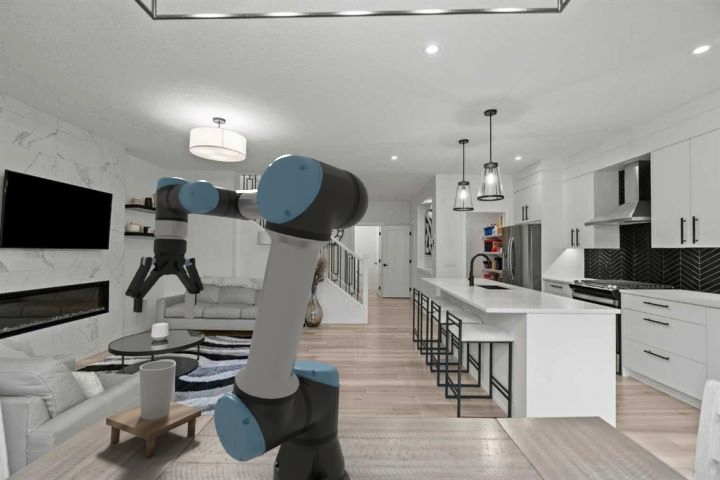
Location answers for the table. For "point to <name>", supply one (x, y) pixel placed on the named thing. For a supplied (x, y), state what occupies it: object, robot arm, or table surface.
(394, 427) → the table surface
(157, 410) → the cup
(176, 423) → the low wooden table
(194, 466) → the table surface
